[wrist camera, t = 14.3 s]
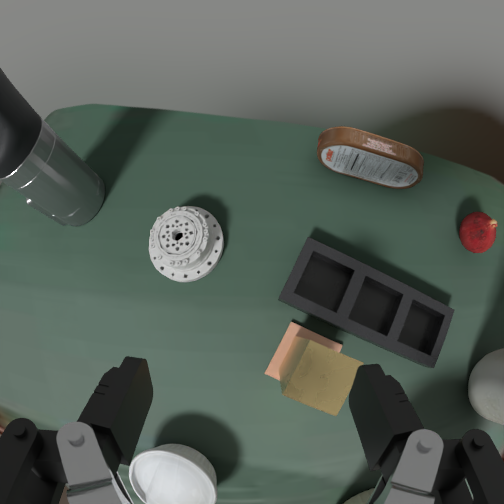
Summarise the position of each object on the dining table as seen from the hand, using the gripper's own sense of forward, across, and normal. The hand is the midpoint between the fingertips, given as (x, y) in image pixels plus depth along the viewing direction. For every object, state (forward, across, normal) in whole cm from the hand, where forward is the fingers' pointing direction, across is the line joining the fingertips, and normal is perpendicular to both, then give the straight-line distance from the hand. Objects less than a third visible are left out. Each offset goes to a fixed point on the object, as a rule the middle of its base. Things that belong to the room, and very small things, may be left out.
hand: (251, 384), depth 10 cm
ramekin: (+12, +8, +30) cm, 33 cm away
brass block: (+19, -7, +14) cm, 25 cm away
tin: (+33, -16, -7) cm, 37 cm away
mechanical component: (+29, +8, +4) cm, 30 cm away
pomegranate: (+26, -32, 0) cm, 41 cm away
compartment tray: (+22, -15, +9) cm, 28 cm away
